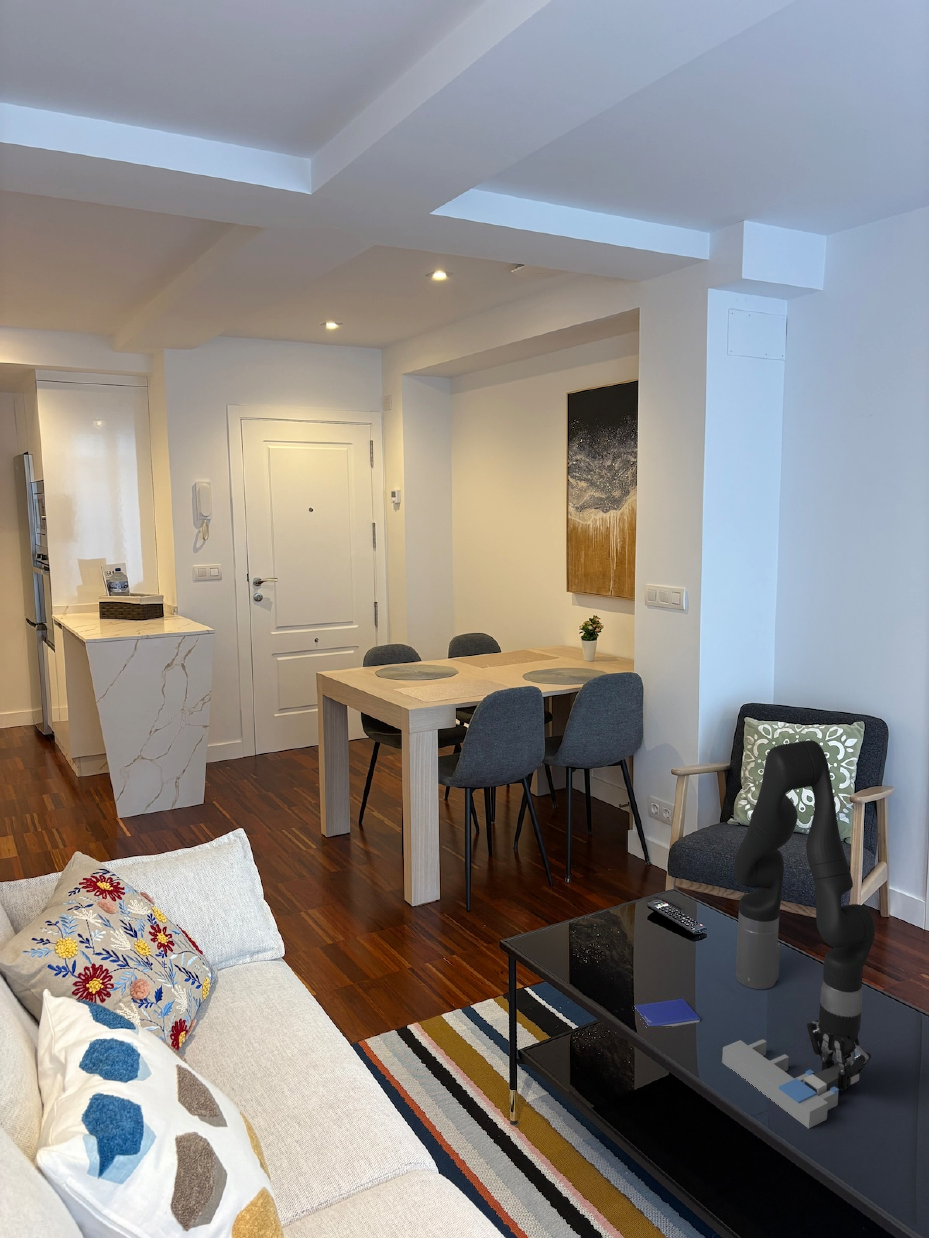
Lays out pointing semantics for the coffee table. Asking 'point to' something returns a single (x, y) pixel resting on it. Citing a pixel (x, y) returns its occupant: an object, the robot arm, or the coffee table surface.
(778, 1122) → the coffee table surface
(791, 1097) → the pronged holder rack
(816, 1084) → the dark grey capped bar
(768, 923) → the robot arm
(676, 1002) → the hard drive
